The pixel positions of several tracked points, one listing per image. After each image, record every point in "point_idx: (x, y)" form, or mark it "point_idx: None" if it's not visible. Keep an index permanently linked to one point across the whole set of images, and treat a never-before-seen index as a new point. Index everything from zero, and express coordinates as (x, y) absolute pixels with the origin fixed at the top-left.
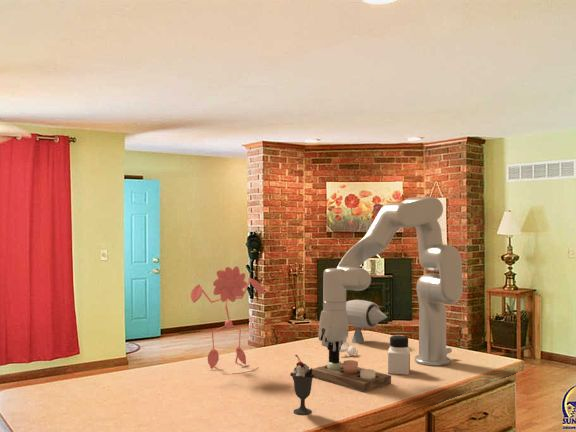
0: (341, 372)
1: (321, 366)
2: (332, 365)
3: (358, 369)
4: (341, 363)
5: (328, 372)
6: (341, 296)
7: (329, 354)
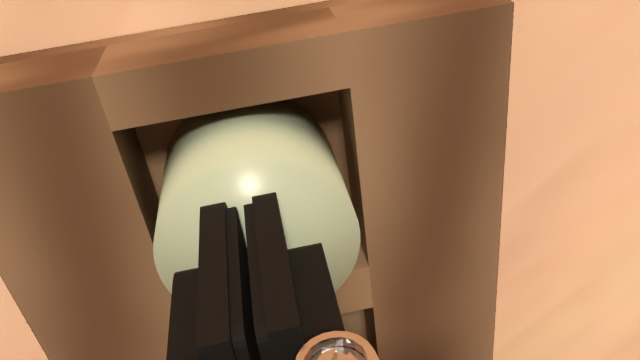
0: None
1: (126, 71)
2: None
3: (428, 348)
4: None
5: (66, 325)
6: None
7: (168, 337)
